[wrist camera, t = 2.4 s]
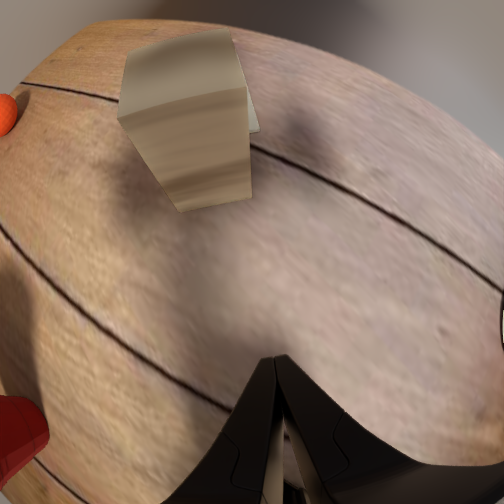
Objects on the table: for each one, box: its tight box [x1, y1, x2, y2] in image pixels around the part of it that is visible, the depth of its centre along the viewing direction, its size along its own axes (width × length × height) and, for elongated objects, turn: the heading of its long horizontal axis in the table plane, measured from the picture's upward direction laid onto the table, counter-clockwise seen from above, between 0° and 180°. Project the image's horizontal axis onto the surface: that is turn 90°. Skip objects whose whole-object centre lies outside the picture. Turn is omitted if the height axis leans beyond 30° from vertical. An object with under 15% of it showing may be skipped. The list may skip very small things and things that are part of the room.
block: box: [117, 28, 252, 213], centre depth 17 cm, size 6×6×12 cm
